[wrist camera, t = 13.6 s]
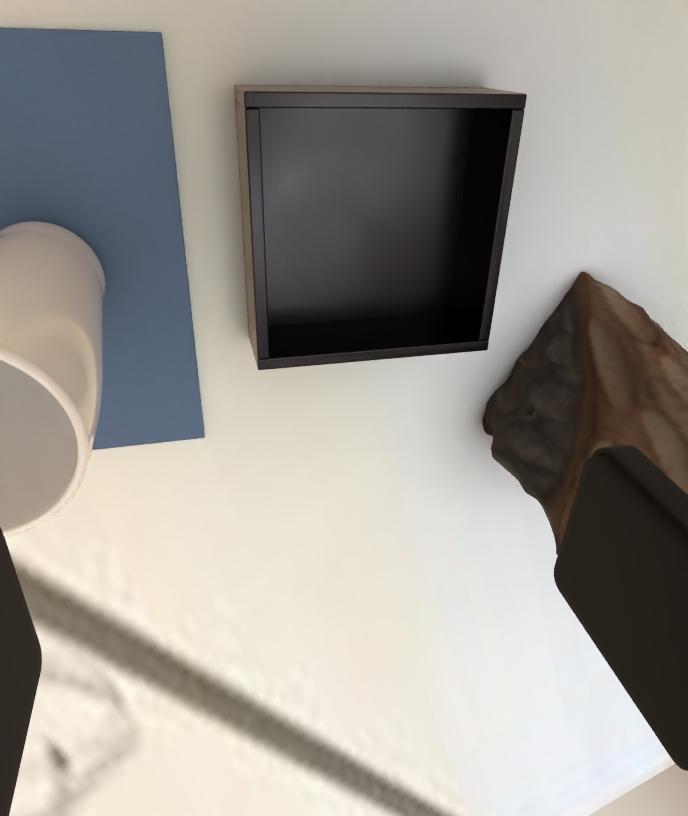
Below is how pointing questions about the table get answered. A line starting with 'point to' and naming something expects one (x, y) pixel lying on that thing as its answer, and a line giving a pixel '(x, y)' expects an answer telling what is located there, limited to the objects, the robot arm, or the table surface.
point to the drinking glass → (47, 369)
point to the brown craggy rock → (590, 397)
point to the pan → (373, 218)
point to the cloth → (108, 208)
